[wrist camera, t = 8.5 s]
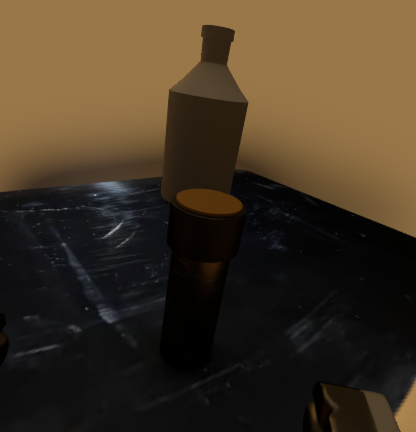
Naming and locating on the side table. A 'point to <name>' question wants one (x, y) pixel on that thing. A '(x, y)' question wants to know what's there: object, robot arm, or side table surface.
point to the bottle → (204, 121)
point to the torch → (198, 272)
